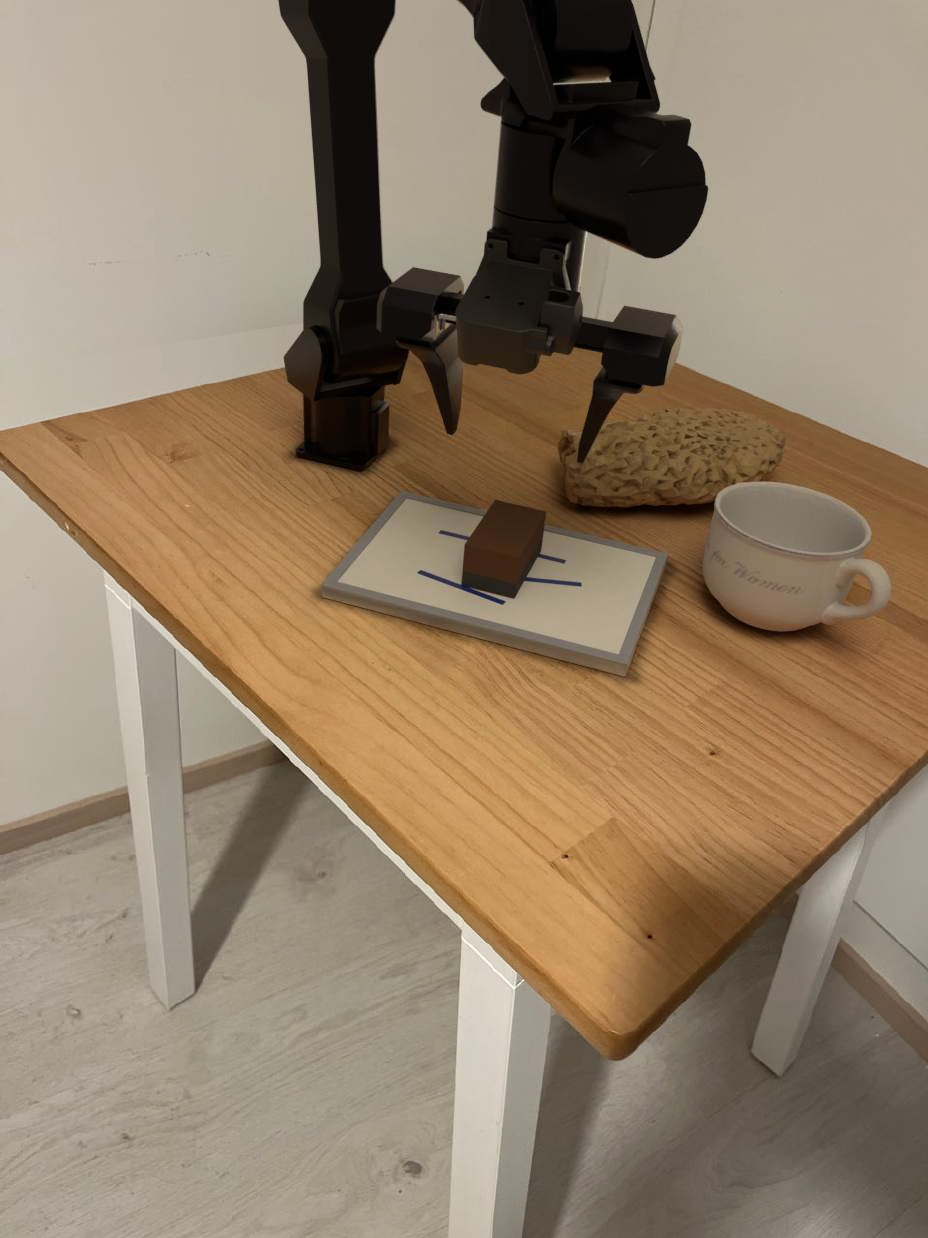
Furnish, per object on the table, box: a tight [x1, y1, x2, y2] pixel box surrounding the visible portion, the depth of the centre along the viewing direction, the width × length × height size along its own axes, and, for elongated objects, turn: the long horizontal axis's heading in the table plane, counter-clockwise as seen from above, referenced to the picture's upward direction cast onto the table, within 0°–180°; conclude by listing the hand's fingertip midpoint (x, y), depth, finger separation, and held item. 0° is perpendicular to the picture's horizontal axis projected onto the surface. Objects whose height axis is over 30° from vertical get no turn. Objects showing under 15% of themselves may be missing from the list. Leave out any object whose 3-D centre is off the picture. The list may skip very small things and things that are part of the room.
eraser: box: [461, 499, 547, 598], centre depth 78 cm, size 4×7×4 cm, turn 161°
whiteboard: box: [321, 490, 670, 678], centre depth 79 cm, size 22×15×1 cm
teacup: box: [702, 480, 892, 633], centre depth 75 cm, size 14×11×8 cm
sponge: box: [557, 406, 787, 508], centre depth 91 cm, size 13×8×20 cm
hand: (515, 446), depth 73 cm, fingers open, 9 cm apart
